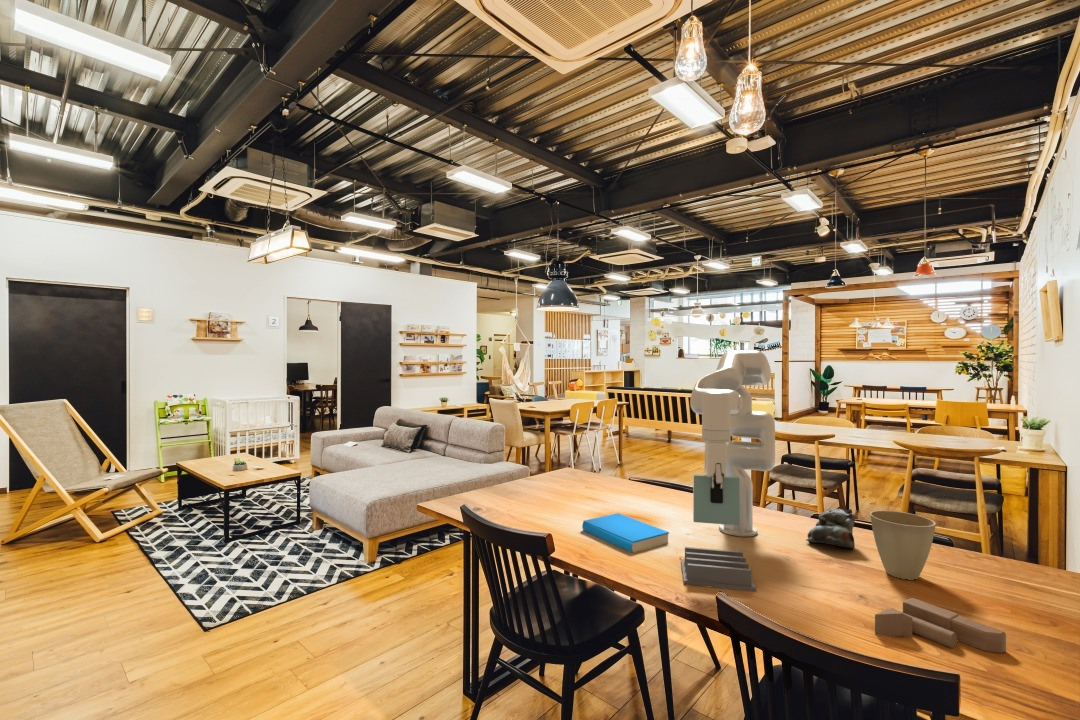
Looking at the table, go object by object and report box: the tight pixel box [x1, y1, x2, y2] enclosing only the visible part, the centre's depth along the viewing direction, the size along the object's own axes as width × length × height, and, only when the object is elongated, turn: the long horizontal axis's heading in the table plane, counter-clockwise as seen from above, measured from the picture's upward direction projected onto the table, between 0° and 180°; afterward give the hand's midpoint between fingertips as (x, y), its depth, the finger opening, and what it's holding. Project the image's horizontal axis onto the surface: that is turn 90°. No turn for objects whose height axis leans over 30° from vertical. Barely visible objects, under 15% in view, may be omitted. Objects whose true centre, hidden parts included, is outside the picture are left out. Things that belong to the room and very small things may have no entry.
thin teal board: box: [692, 474, 739, 525], centre depth 138 cm, size 2×12×13 cm, turn 77°
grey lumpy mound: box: [805, 508, 856, 551], centre depth 162 cm, size 15×12×14 cm
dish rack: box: [680, 546, 757, 592], centre depth 138 cm, size 15×18×5 cm
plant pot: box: [869, 510, 937, 581], centre depth 139 cm, size 15×15×16 cm
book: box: [581, 512, 670, 553], centre depth 170 cm, size 17×4×25 cm
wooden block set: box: [874, 597, 1007, 654], centre depth 106 cm, size 17×6×18 cm
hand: (716, 501), depth 138 cm, fingers closed on thin teal board, 1 cm apart
